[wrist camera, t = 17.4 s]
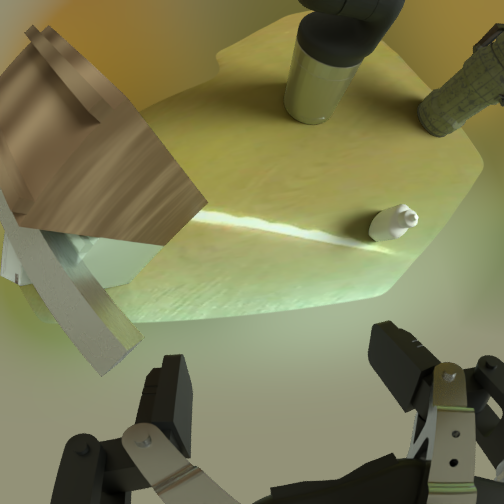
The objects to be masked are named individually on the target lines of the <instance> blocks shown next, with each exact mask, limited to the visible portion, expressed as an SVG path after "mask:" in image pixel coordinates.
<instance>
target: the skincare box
mask: <svg viewBox="0 0 504 504" xmlns="http://www.w3.org/2000/svg"><path fill="white" fill-rule="evenodd" d="M0 275H1V276H2V277H4V278H6V279H8V280H10V281H12V282H14V283H16V284H18V285H20V286H23V285H28V284H32V282H31V280H30V278H29V277H28V275H27V273H26V271H25V270H24V268H23V266H22V264H21V262H20V260H19V259H18V257H17V255H16V253H15V251H14V249H13V247H12V245H11V243H10V241H9V239H8V236H7V234H6V232H5V234H4V242H3V251H2V262H1V274H0Z"/></svg>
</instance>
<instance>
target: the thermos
mask: <svg viewBox="0 0 504 504" xmlns="http://www.w3.org/2000/svg"><path fill="white" fill-rule="evenodd" d="M501 33H502V34H501ZM500 34H501V35H500ZM499 35H500V36H499ZM498 36H499V37H498ZM495 39H496V41H495V42H493V41H494V40H495ZM492 42H493V43H492ZM490 43H491V44H490ZM489 44H490V45H489ZM488 45H489V46H488ZM499 102H500V104H501V106H504V24H499V23H498V24H497V23H496V24H495V25H494V26H493V27H492V28H491V29H490V30H489V32H488V33H486V34H485V36H484V37H483V38H482V39H481V40H480V41H479V42H478V43H477V44H475V45H474V46H473V54H472V56H471V57H470V58H469V59H467V60H466V61H465V63H464V65H463V68H462V69H461V70H460V71H458V72H457V73H456V74H455V75H454V76H453V77H452V78H451V79H450V80H449V81H447V82H446V83H445V84H444V85H443V86H442V87H441V88H440V89H435V90H433V91H432V92H431V93H430V94H429V95H428V96H427V97H426V98H425V99H424V101H423V102H421V103H420V104H419V106H418V109H417V113H418V118H419V120H420V122H421V124H422V125H423V127H424V128H425V129H426V130H427V131H428V132H429V133H430V134H432V135H434V136H436V137H444V136H446V135H447V134H450V133H452V132H454V131H455V130H457V129H458V128H460V127H461V126H462V125H464V123H465V121H466V120H467V119H469V118H470V117H472V116H473V115H475V114H476V113H478V112H480V111H481V110H483V109H484V108H486V107H487V106H489V105H496V104H497V103H499Z"/></svg>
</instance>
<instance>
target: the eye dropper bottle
mask: <svg viewBox="0 0 504 504" xmlns="http://www.w3.org/2000/svg"><path fill="white" fill-rule="evenodd" d="M417 221H418V215H417V214H416V213H415V212H414V211H413V210H411V209H410V208H409V207H408V206H407V205H405V204H400V205H397V206H394V207H391V208H388V209H386V210H383V211H381V212H380V213H378V214H377V215H376V216H375V218H374V219H373V221H372V222H371V225H370V228H369V236H370V237H371V238H372V239H374V240H375V241H377V242H378V241H386V240H393V239H397V238H399V237H400V236H402V235H403V234H404V233H405V232H406V231H407V229H408V228H410V227H414V226H415V225H416V224H417Z"/></svg>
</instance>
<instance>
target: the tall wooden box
mask: <svg viewBox="0 0 504 504" xmlns="http://www.w3.org/2000/svg"><path fill="white" fill-rule="evenodd" d="M25 34H26V36H27V37H28V38H29V39H30V41H31V43H30V44H29V45H28V46H27V47H26V48H25V49H24V50H23V51H22V52H21V53H20V54H19V55H18V56H17V57H16V59H15V60H14V61H13V62H12V63H11V64H10V65H9V66H8V68H7V69H6V70H5V71H4V72H3V74H2V75H1V76H0V188H1V190H2V193H3V195H4V197H5V200H6V202H7V204H8V206H9V209H10V211H12V213H13V215H14V217H15V219H16V222H17V224H18V226H19V227H25V228H32V229H40V230H47V231H54V232H62V233H69V234H76V235H84V236H91V237H99V238H108V239H114V240H123V241H129V242H137V243H144V244H152V245H160V246H165V245H166V244H167V243H168V242H169V241H170V240H171V239H172V238H173V237H174V236H175V235H176V234H177V233H178V232H179V231H180V230H181V229H182V228H183V227H184V226H185V225H186V224H187V223H188V222H189V221H190V220H191V219H192V218H193V217H194V216H195V215H196V214H197V213H198V212H199V211H200V210H201V209H202V208H203V207H204V206H205V205H206V204H207V203H208V202H207V200H206V199H205V198H204V196H203V195H202V194H201V193H200V191H199V190H198V189H197V187H196V186H195V185H194V184H193V182H192V181H191V180H190V178H189V177H188V176H187V174H186V173H185V172H184V171H183V169H182V168H181V167H180V165H179V164H178V163H177V162H176V160H175V159H174V158H173V156H172V155H171V154H170V153H169V151H168V150H167V149H166V147H165V146H164V145H163V143H162V142H161V141H160V140H159V138H158V137H157V136H156V134H155V133H154V132H153V130H152V129H151V128H150V127H149V125H148V124H147V123H146V121H145V120H144V119H143V117H142V116H141V115H140V114H139V112H138V111H137V110H136V108H135V107H134V106H133V104H132V103H131V102H130V101H129V99H128V98H127V97H126V96H125V95H124V94H123V93H122V92H121V91H120V90H119V89H117V87H115V86H114V85H113V84H112V83H111V82H110V81H109V80H108V79H107V78H106V77H105V76H104V75H103V74H102V73H101V72H99V71H98V70H97V69H96V68H95V67H94V66H93V65H92V64H91V63H90V62H89V61H88V60H87V59H86V58H84V57H83V56H82V55H81V54H80V53H79V52H78V51H77V50H76V49H74V48H73V47H72V46H71V45H70V44H69V43H68V42H67V41H66V40H65V39H64V38H62V37H61V36H60V35H59V34H58V33H57V32H56V31H55V30H53V29H52V28H51V27H50V26H47V27H46V28H45V29H44V30H43V31H42V32H41V33H40V32H39V31H38V30H37V29H36V28H35V27H34V25H32V26H31V27H30V28H29V29H28V30H27V31H26V32H25Z"/></svg>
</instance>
